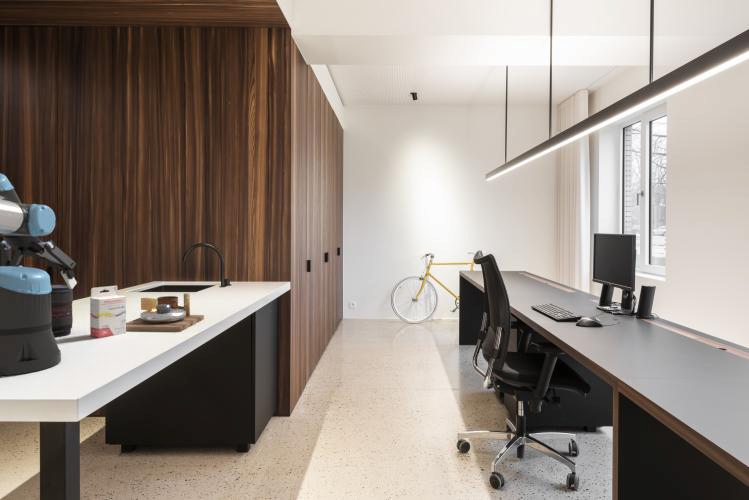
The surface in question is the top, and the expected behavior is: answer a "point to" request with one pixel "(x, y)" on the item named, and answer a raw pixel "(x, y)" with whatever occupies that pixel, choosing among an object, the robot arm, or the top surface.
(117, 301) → the ink cartridge box
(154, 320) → the flange plate
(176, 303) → the cup and saucer
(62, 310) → the camera lens
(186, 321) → the walnut base
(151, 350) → the top surface
